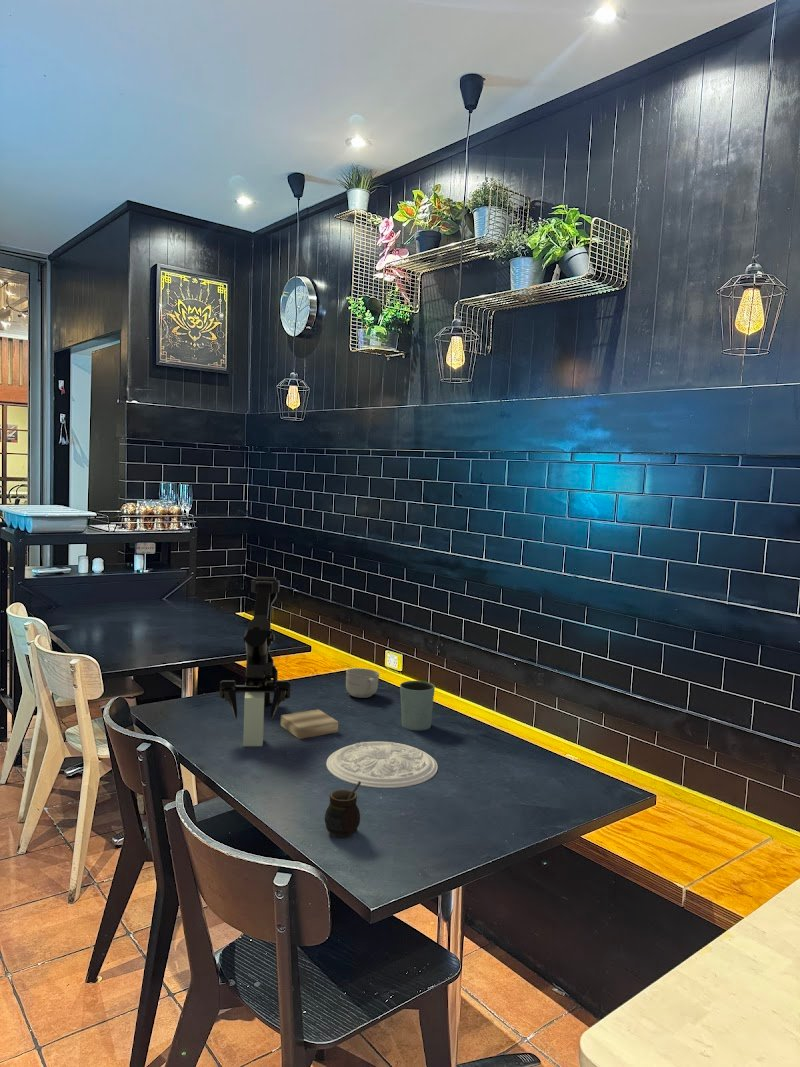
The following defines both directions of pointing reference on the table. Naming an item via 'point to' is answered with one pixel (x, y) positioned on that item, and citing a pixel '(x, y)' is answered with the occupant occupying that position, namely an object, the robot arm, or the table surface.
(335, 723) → the maple base
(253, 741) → the sage pillar
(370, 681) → the teacup
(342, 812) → the mate gourd
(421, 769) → the ceiling medallion
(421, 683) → the grey-green cup
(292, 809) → the table surface
